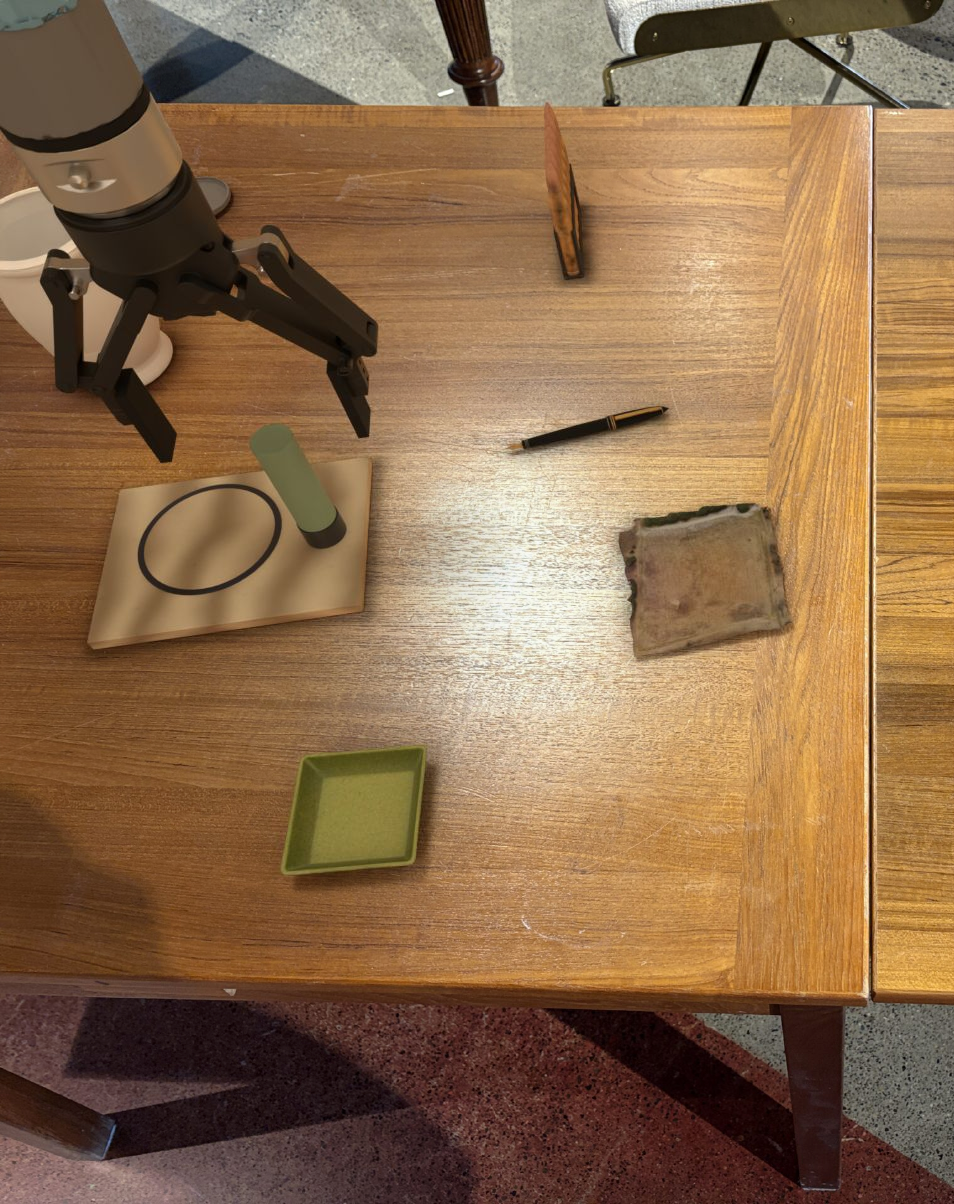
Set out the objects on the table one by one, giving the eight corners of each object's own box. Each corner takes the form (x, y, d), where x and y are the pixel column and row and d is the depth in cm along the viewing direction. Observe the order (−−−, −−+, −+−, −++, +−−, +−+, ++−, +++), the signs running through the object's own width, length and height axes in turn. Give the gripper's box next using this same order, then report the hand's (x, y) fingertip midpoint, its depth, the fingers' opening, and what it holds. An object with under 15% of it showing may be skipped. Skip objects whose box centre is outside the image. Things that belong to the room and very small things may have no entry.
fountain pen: (505, 460, 97) (501, 448, 96) (503, 450, 97) (499, 437, 96) (671, 418, 99) (669, 405, 98) (668, 408, 100) (666, 396, 99)
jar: (62, 341, 106) (-40, 203, 93) (179, 309, 108) (94, 169, 96) (70, 420, 100) (-37, 284, 88) (193, 384, 102) (105, 246, 90)
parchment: (769, 501, 94) (768, 494, 93) (796, 635, 86) (796, 628, 86) (616, 524, 93) (615, 516, 92) (631, 661, 85) (629, 654, 85)
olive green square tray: (423, 876, 77) (414, 864, 75) (290, 887, 76) (278, 875, 75) (436, 757, 81) (427, 743, 80) (311, 767, 81) (300, 754, 79)
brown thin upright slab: (561, 208, 115) (536, 97, 105) (580, 206, 115) (556, 95, 105) (564, 279, 109) (537, 169, 99) (583, 277, 109) (559, 167, 99)
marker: (303, 551, 91) (245, 458, 81) (307, 519, 92) (250, 425, 83) (345, 546, 91) (291, 452, 82) (347, 514, 93) (295, 419, 83)
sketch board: (93, 649, 87) (85, 642, 86) (126, 497, 95) (119, 488, 94) (363, 611, 88) (358, 603, 88) (372, 464, 97) (368, 455, 96)
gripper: (-136, 249, 62) (76, 499, 79) (341, 197, 64) (444, 452, 81) (-98, 163, 66) (95, 419, 84) (348, 117, 68) (445, 376, 86)
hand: (267, 436), depth 83 cm, fingers open, 13 cm apart
